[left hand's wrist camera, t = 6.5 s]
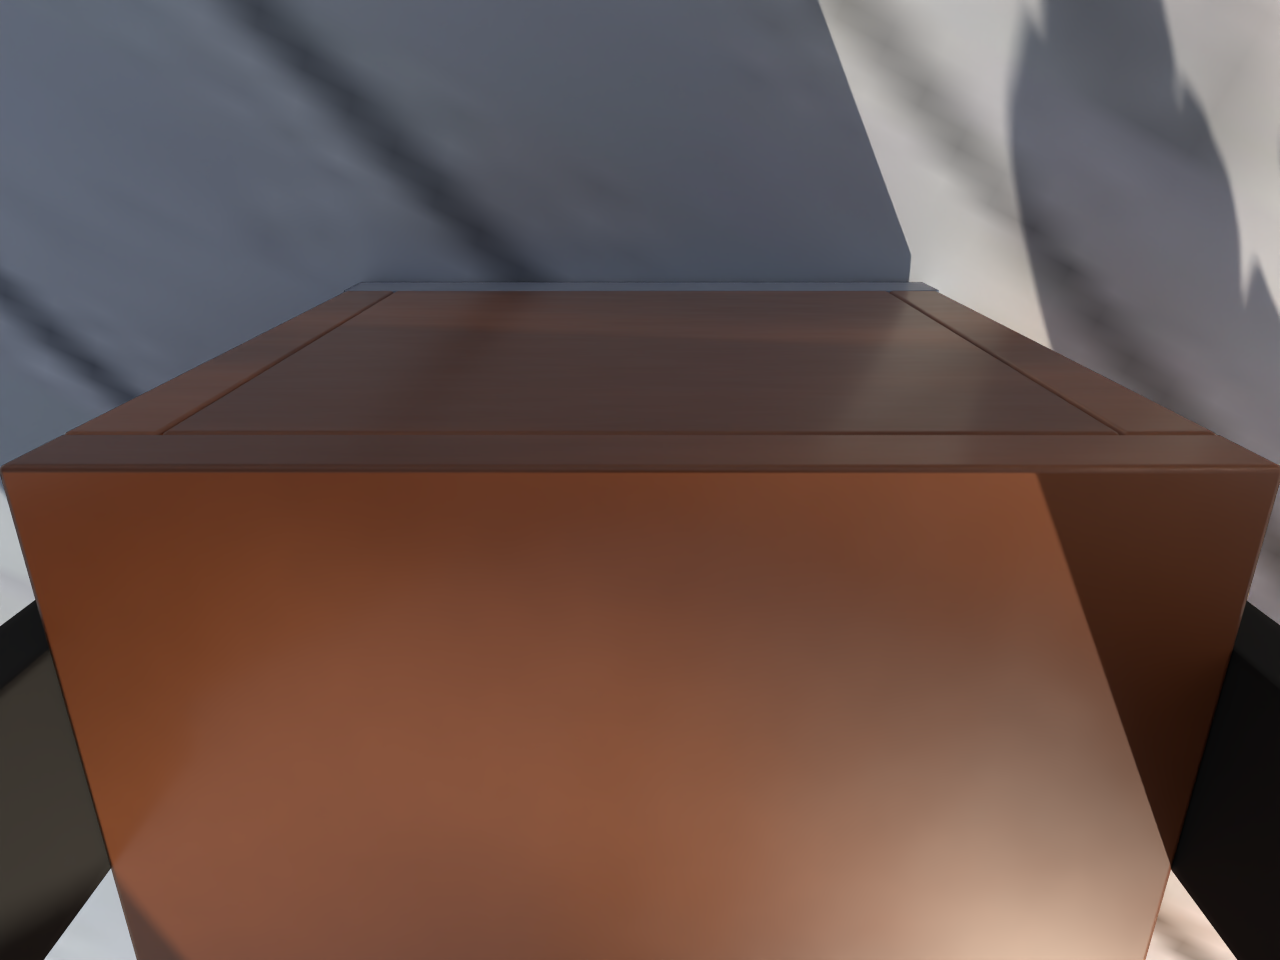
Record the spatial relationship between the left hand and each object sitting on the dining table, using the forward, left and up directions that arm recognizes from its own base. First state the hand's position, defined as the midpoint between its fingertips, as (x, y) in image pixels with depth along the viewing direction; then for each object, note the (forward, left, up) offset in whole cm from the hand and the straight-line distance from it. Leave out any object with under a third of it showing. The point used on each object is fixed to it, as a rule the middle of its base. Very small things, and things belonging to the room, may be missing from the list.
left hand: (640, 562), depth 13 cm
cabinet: (+2, +4, -6) cm, 8 cm away
